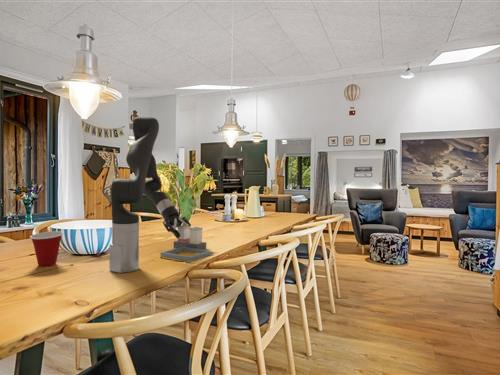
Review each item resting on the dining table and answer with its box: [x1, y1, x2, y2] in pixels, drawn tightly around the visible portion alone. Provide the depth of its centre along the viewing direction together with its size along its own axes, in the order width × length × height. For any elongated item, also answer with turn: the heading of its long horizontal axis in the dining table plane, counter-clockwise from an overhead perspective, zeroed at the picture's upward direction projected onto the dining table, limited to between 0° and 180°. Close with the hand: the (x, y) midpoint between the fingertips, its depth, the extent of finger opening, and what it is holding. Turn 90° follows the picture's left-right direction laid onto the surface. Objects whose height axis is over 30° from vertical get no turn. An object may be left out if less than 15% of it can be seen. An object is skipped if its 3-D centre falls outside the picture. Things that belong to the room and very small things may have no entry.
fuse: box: [190, 226, 203, 244], centre depth 153 cm, size 4×4×10 cm
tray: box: [160, 247, 212, 264], centre depth 141 cm, size 14×16×2 cm
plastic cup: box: [29, 230, 64, 268], centre depth 126 cm, size 11×11×12 cm
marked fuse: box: [177, 226, 191, 242], centre depth 157 cm, size 4×4×10 cm
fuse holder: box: [173, 240, 207, 250], centre depth 155 cm, size 7×14×4 cm, turn 60°
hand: (185, 235), depth 157 cm, fingers open, 8 cm apart
